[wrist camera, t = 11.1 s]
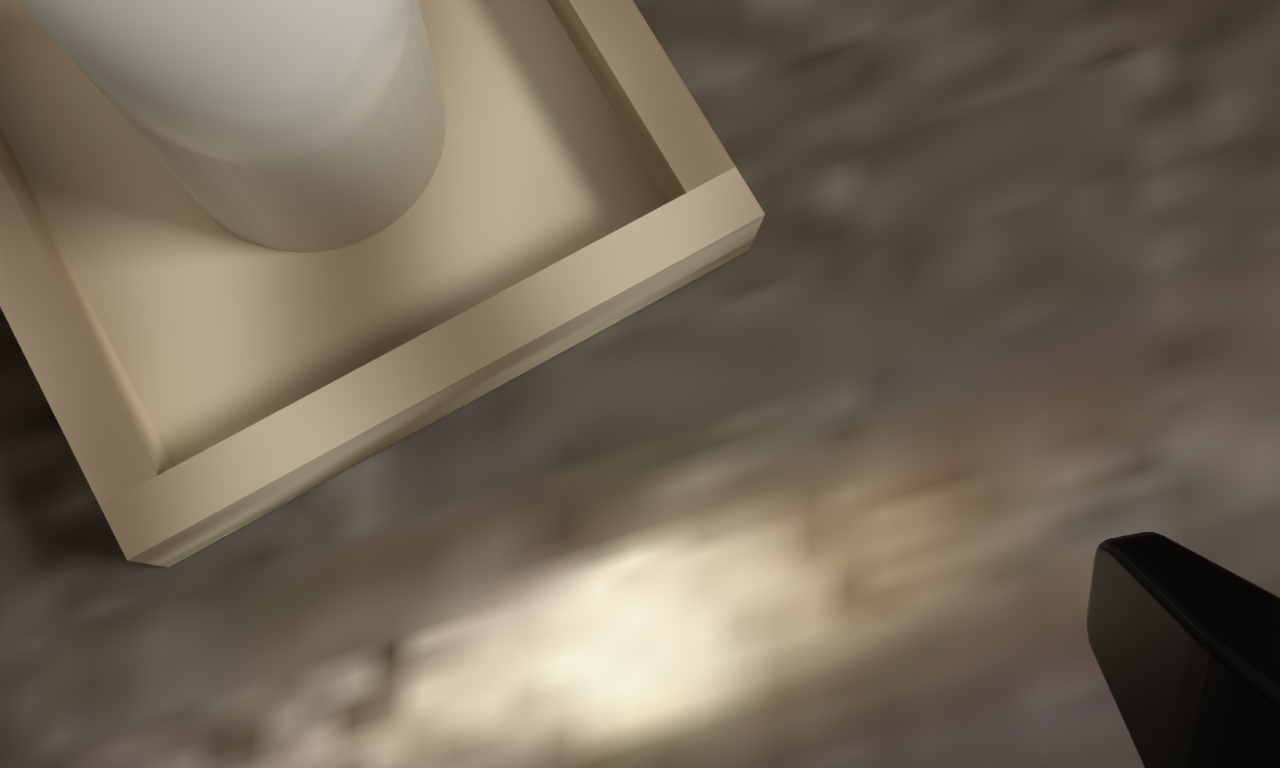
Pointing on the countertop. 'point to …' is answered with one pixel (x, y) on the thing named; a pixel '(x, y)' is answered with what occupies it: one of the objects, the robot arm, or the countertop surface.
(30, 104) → the tray
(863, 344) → the countertop surface
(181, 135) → the bottle
